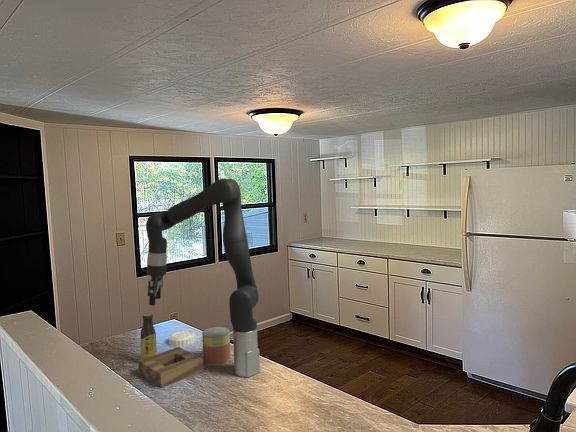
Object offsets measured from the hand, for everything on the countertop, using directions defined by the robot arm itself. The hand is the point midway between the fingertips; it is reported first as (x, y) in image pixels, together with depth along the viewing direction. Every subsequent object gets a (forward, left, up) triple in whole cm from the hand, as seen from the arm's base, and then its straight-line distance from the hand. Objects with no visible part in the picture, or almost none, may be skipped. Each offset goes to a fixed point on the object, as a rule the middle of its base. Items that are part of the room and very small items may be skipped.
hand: (155, 301), depth 174 cm
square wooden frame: (-12, +1, -26) cm, 28 cm away
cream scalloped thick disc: (+13, -19, -26) cm, 35 cm away
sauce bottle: (+4, +2, -26) cm, 26 cm away
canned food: (-16, -18, -26) cm, 35 cm away
